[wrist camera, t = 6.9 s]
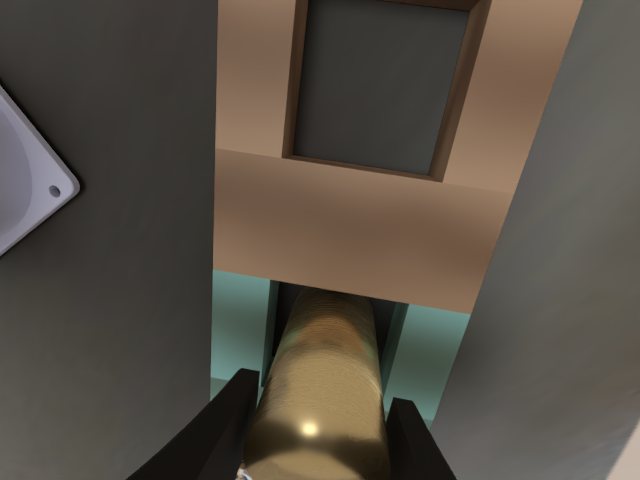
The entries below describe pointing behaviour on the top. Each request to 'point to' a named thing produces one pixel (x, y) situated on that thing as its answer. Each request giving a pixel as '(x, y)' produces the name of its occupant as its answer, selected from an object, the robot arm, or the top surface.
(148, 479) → the robot arm
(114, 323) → the top surface
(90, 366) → the top surface
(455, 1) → the docking plate
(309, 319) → the brass pin
